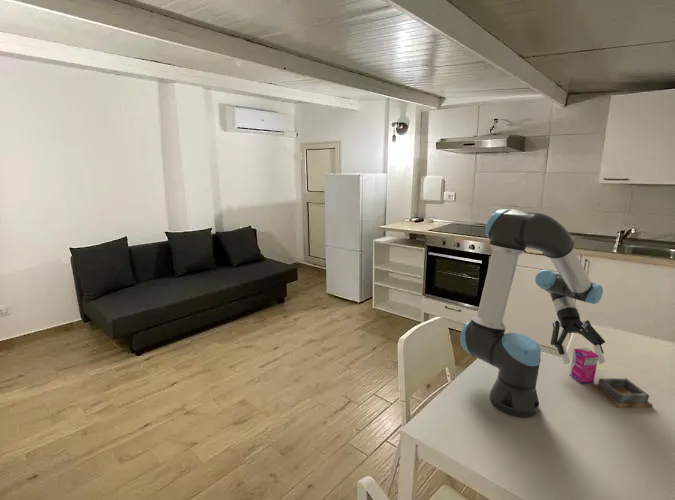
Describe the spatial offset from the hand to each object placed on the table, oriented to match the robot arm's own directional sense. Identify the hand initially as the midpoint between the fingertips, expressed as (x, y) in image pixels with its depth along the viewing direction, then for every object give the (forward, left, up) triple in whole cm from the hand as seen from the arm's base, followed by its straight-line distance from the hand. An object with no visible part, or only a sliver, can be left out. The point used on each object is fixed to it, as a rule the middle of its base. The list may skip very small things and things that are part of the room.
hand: (584, 363), depth 142 cm
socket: (+6, -12, -6) cm, 15 cm away
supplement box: (-1, -1, -7) cm, 7 cm away
